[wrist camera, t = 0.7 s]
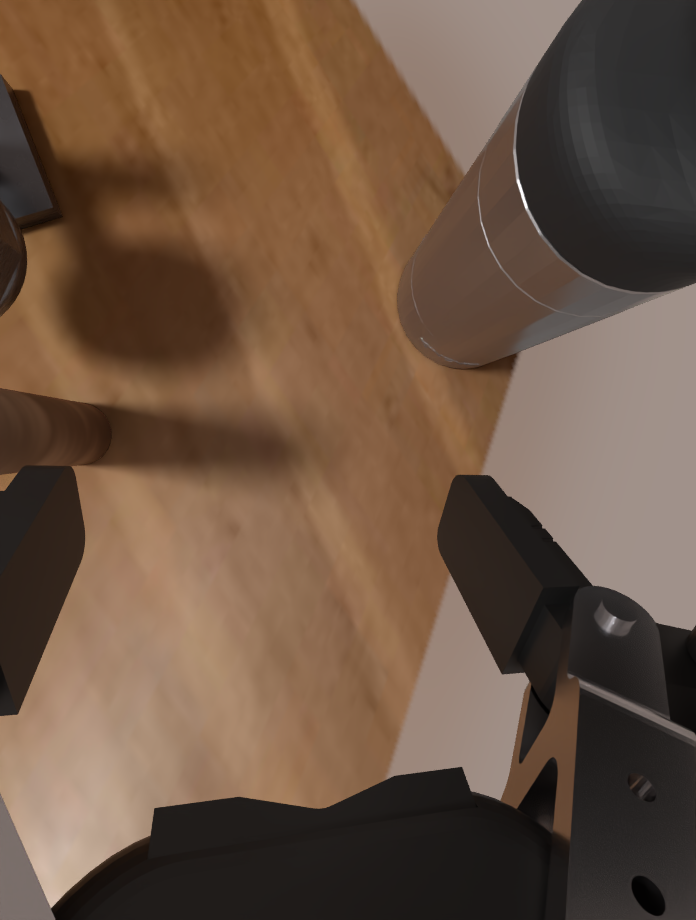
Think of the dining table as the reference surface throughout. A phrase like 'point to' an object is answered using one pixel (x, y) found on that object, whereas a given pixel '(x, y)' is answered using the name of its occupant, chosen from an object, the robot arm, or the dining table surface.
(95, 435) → the rail post
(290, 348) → the dining table surface
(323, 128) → the dining table surface
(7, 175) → the cup bracket
